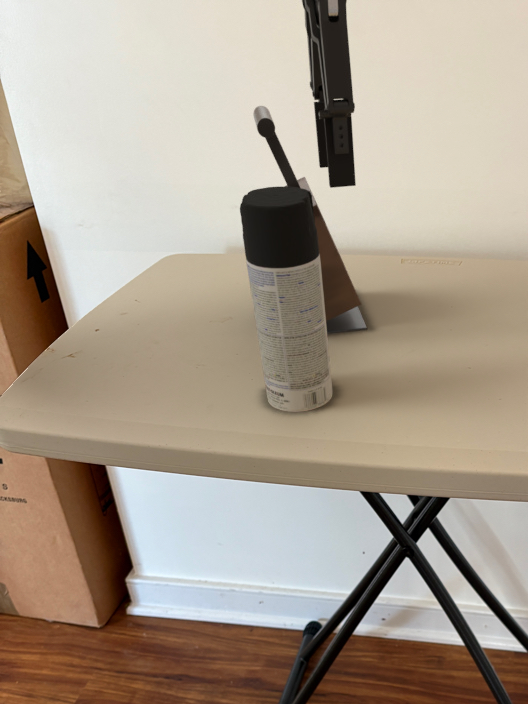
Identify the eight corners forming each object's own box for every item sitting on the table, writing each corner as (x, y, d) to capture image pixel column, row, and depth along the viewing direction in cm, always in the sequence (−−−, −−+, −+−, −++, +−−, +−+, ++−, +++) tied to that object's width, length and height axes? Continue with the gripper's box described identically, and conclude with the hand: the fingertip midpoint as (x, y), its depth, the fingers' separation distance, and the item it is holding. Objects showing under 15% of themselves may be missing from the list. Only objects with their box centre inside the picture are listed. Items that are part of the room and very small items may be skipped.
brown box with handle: (346, 269, 96) (268, 96, 83) (361, 304, 87) (277, 116, 74) (289, 296, 97) (203, 128, 84) (299, 334, 88) (204, 153, 74)
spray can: (337, 386, 80) (319, 184, 67) (328, 419, 75) (306, 206, 62) (275, 386, 80) (245, 184, 68) (262, 418, 75) (227, 207, 62)
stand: (352, 298, 99) (351, 290, 98) (367, 335, 90) (367, 327, 89) (293, 304, 98) (293, 296, 97) (303, 342, 89) (302, 334, 88)
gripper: (377, -97, 62) (388, 198, 76) (340, -91, 78) (355, 151, 92) (285, -94, 61) (314, 204, 75) (267, -89, 77) (294, 156, 91)
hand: (336, 175), depth 84 cm, fingers open, 8 cm apart
